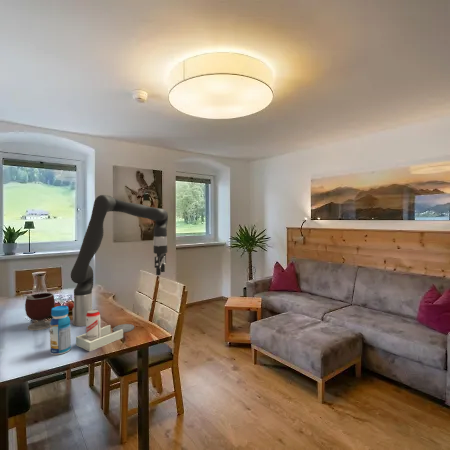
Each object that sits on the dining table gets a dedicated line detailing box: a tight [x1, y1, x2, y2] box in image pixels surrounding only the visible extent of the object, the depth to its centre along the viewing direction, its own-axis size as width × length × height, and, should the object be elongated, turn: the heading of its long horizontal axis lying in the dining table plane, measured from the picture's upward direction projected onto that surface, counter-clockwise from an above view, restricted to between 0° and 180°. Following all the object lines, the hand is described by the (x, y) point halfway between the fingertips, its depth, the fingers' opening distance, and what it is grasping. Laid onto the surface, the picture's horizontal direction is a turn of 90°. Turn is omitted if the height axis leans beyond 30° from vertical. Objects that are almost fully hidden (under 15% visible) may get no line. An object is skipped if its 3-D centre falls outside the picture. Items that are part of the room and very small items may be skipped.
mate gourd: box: [22, 292, 56, 332], centre depth 162 cm, size 16×14×20 cm
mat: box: [112, 323, 135, 334], centre depth 159 cm, size 11×11×1 cm
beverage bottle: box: [49, 305, 72, 356], centre depth 133 cm, size 8×8×20 cm
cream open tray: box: [75, 324, 124, 352], centre depth 143 cm, size 18×11×4 cm, turn 146°
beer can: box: [85, 308, 101, 341], centre depth 140 cm, size 6×6×16 cm
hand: (160, 273), depth 163 cm, fingers open, 8 cm apart
